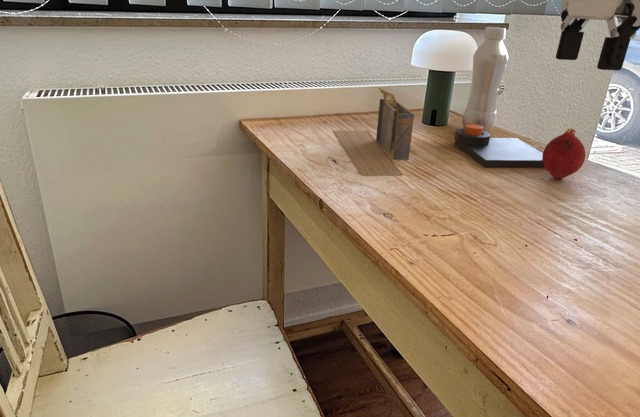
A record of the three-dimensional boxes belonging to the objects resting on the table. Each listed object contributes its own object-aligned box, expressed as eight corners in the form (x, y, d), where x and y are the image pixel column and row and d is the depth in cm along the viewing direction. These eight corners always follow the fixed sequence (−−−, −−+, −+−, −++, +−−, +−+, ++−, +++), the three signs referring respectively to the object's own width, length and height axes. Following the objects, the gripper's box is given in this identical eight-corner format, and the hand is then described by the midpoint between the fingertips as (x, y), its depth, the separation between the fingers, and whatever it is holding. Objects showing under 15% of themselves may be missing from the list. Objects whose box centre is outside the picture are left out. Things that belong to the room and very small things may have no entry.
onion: (573, 189, 72) (588, 136, 69) (533, 179, 75) (545, 128, 72) (581, 179, 76) (595, 128, 73) (543, 170, 79) (555, 121, 76)
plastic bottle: (485, 128, 103) (505, 27, 95) (498, 137, 97) (520, 30, 88) (455, 127, 102) (472, 25, 94) (466, 136, 96) (485, 28, 88)
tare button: (477, 132, 89) (478, 124, 88) (484, 137, 86) (485, 128, 86) (461, 132, 89) (462, 123, 88) (468, 137, 86) (469, 128, 85)
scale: (514, 144, 93) (517, 129, 91) (553, 168, 80) (558, 151, 79) (448, 143, 91) (451, 128, 90) (478, 168, 79) (482, 150, 78)
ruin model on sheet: (332, 130, 96) (335, 79, 92) (413, 131, 98) (419, 81, 94) (361, 175, 73) (366, 110, 69) (464, 174, 76) (475, 112, 72)
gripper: (706, -81, 55) (655, 75, 62) (606, -67, 70) (574, 57, 77) (646, -87, 54) (601, 73, 61) (557, -71, 69) (529, 55, 76)
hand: (586, 64), depth 69 cm, fingers open, 9 cm apart
